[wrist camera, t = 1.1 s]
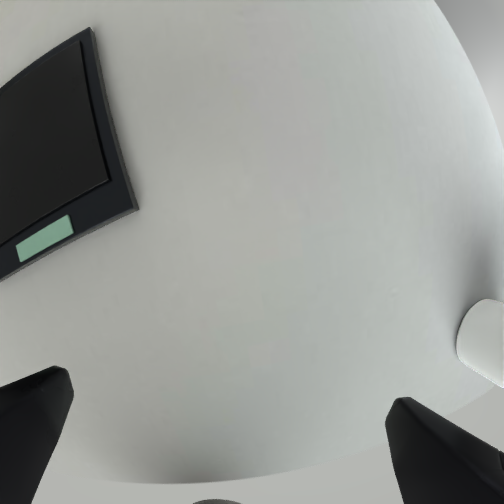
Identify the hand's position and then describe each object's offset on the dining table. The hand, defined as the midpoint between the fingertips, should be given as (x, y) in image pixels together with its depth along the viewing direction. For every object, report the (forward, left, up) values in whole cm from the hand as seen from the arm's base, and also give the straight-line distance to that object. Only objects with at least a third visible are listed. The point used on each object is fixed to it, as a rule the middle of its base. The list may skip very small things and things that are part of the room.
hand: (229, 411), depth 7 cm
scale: (+14, +16, -14) cm, 25 cm away
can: (-7, -21, -14) cm, 26 cm away
